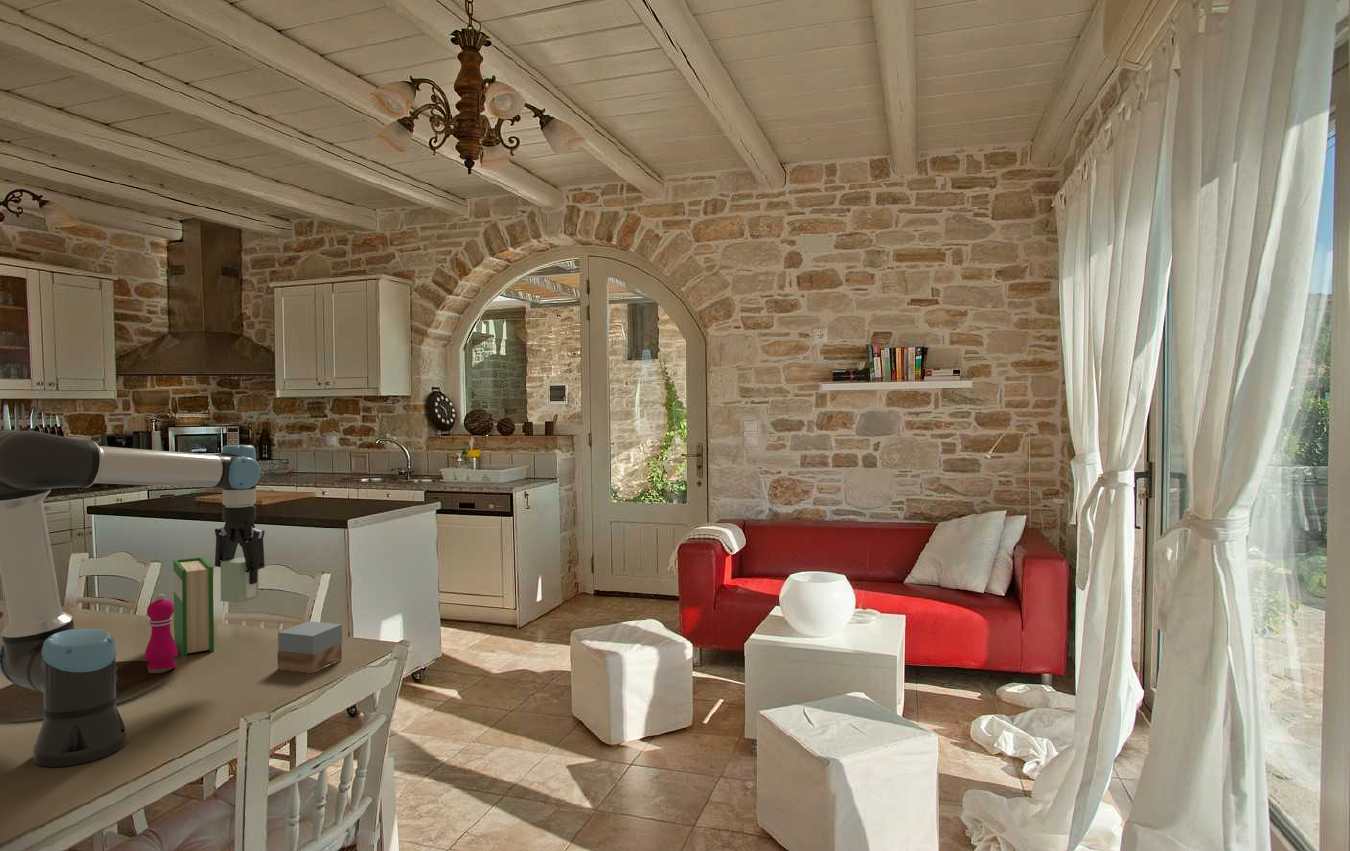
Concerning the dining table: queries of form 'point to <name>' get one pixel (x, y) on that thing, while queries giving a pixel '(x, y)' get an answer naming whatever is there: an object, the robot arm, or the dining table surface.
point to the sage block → (234, 581)
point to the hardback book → (193, 605)
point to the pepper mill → (161, 635)
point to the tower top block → (310, 638)
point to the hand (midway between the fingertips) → (239, 595)
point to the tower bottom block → (309, 660)
